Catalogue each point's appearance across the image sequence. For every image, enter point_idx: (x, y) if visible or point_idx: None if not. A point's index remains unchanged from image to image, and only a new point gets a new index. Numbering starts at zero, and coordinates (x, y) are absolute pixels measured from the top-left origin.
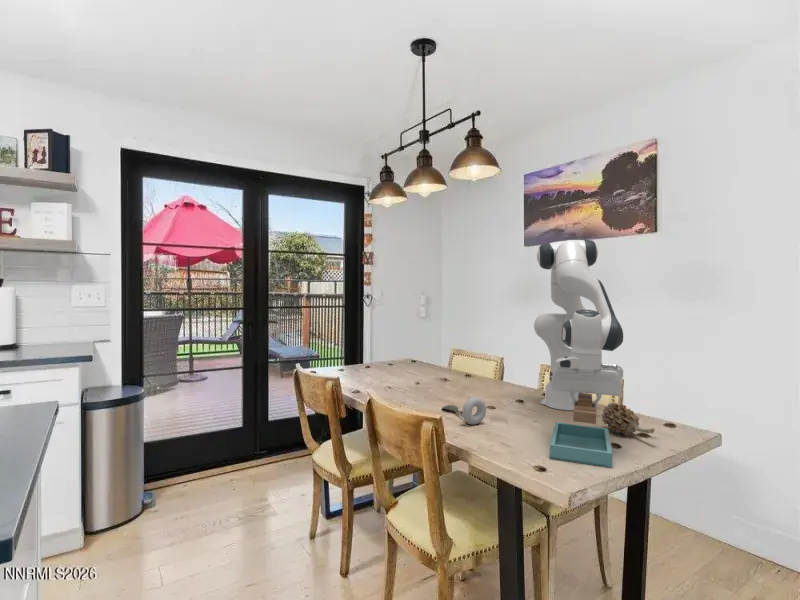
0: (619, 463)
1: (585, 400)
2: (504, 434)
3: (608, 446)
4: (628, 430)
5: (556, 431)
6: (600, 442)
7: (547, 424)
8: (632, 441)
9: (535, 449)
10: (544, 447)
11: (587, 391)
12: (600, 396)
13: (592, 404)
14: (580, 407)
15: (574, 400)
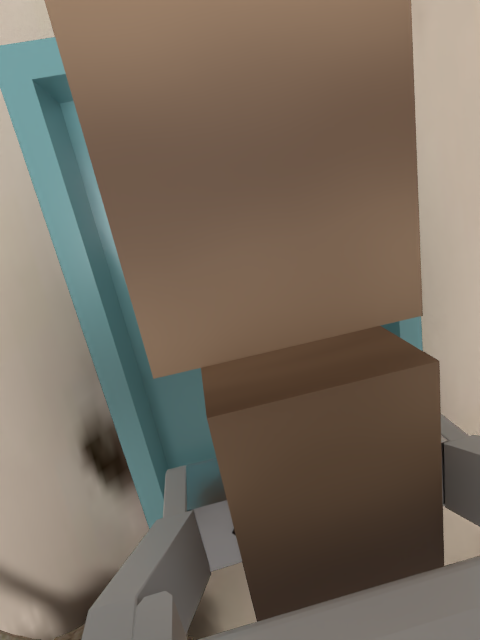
0: (17, 194)
1: (317, 387)
2: None
3: (59, 207)
4: (81, 629)
5: None
6: (177, 431)
7: None
8: (60, 558)
9: (447, 143)
10: None
11: (365, 622)
12: (94, 636)
13: (221, 483)
14: (338, 261)
15: (454, 442)
